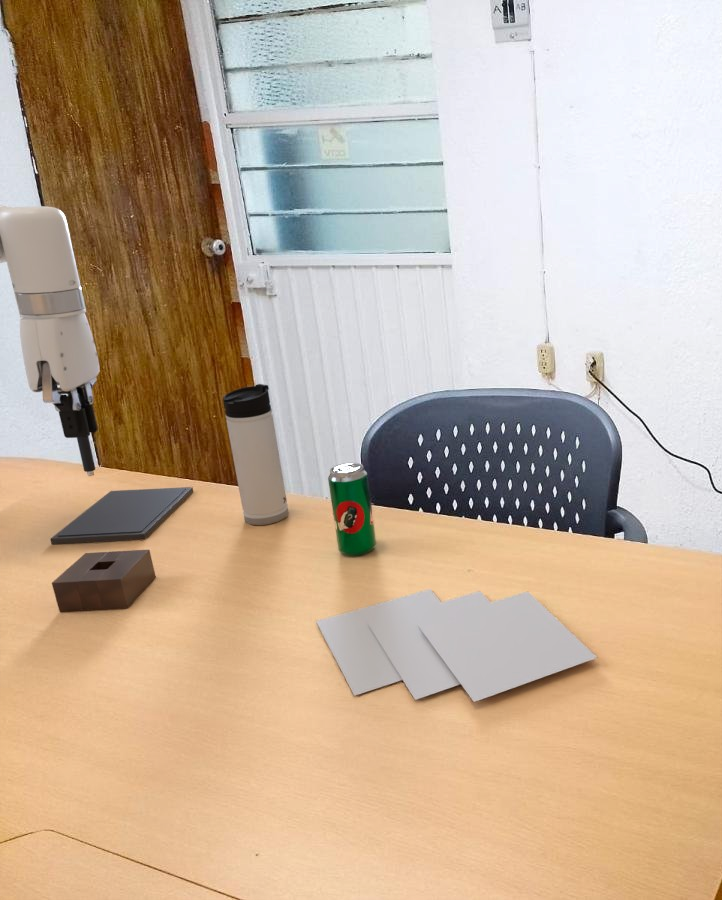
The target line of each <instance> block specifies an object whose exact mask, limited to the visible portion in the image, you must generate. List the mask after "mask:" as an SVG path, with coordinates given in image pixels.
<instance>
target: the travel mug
mask: <svg viewBox="0 0 722 900" xmlns="http://www.w3.org/2000/svg"><path fill="white" fill-rule="evenodd" d="M269 390H270V388H269V385H268V384H263V383H258V384H254V385H252V386H246V387H240V388H238V389H237V388H236V389H234V390H232V391H230V392H228V393H226V394H225V395H224V396H223V397H222V403H223V407H224V409H225V410H224V413H225V419H226V421H225V422H226V427H227V432H228V437H229V443H230V448H231V453H232V458H233V459H232V460H233V464H234V465H233V466H234V470H235V474H236V476H235V477H236V481H237V487H238V491H239V497H240V502H241V507H242V512H243V519H244V521H245V522H246V523H247V524H249V525H253V526H266V525H272V524H276V523H279V522H281V521H282V520H284V519H286V518H287V516H288V515H289V513H290V512H289V506H288V500H287V494H286V487H285V482H284V476H283V469H282V464H281V458H280V451H279V445H278V439H277V433H276V427H275V421H274V415H273V409H272V406H271V400H270V394H269Z"/></svg>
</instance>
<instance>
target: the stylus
mask: <svg viewBox="0 0 722 900" xmlns="http://www.w3.org/2000/svg"><path fill="white" fill-rule="evenodd" d="M77 394H78V393H77ZM67 396H68V397H69V395H67ZM78 398H79V402H80V406H81V408H80V409H82V404H81V400H80V395H79V394H78ZM89 437H90V436H88V437H82V438H76V441H77V445H78V448H79V454H80V459H81V464H82V467H83V471H84V472H86V475H87V477H93V476H95V470H96V466H95V461H94V460H95V459H94V456H93V452H92V447H91V442H90V438H89Z"/></svg>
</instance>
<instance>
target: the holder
mask: <svg viewBox="0 0 722 900" xmlns="http://www.w3.org/2000/svg"><path fill="white" fill-rule="evenodd" d="M156 577H157V576H156V572H155V568H154V563H153V559H152V554H151V550H150V549H132V550H115V551H114V550H112V551H99V552H98V551H96V552H95V551H94V552H85V553H84V554H83V555H81V556H80V557H79V558H78V559H77V560H76V561H74V563H72V564H71V565H70V566H68V568H66V570H64V571H63V572H62V573H61V574H60V575H59V576H58V577H57V578H56V579H54V580H53V581H52V582H51V586H52V590H53V593H54V597H55V601H56V604H57V607H58V611H59V612H60V613H65V612H67V613H68V612H83V611H84V612H85V611H100V610H101V611H103V610H120V609H128V608H129V607H130V606H131V605H132V604H133V603H134V602H135V601H136V600H137V598H138V597H139V596H140V595H141V594H142V593H143V592H144V591H145V589H147V587H148V586H149V585H150V584H151V583H152V582H153V581H154V579H156Z"/></svg>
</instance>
